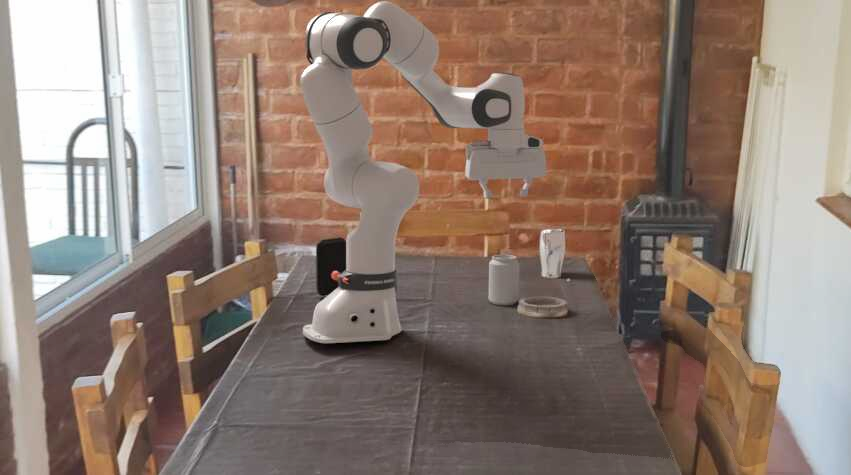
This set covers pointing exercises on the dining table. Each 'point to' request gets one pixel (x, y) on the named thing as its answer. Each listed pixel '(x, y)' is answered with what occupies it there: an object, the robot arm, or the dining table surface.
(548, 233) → the beer glass
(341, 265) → the carrying case or bag
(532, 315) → the beige round shallow dish
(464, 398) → the dining table surface
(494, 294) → the can
